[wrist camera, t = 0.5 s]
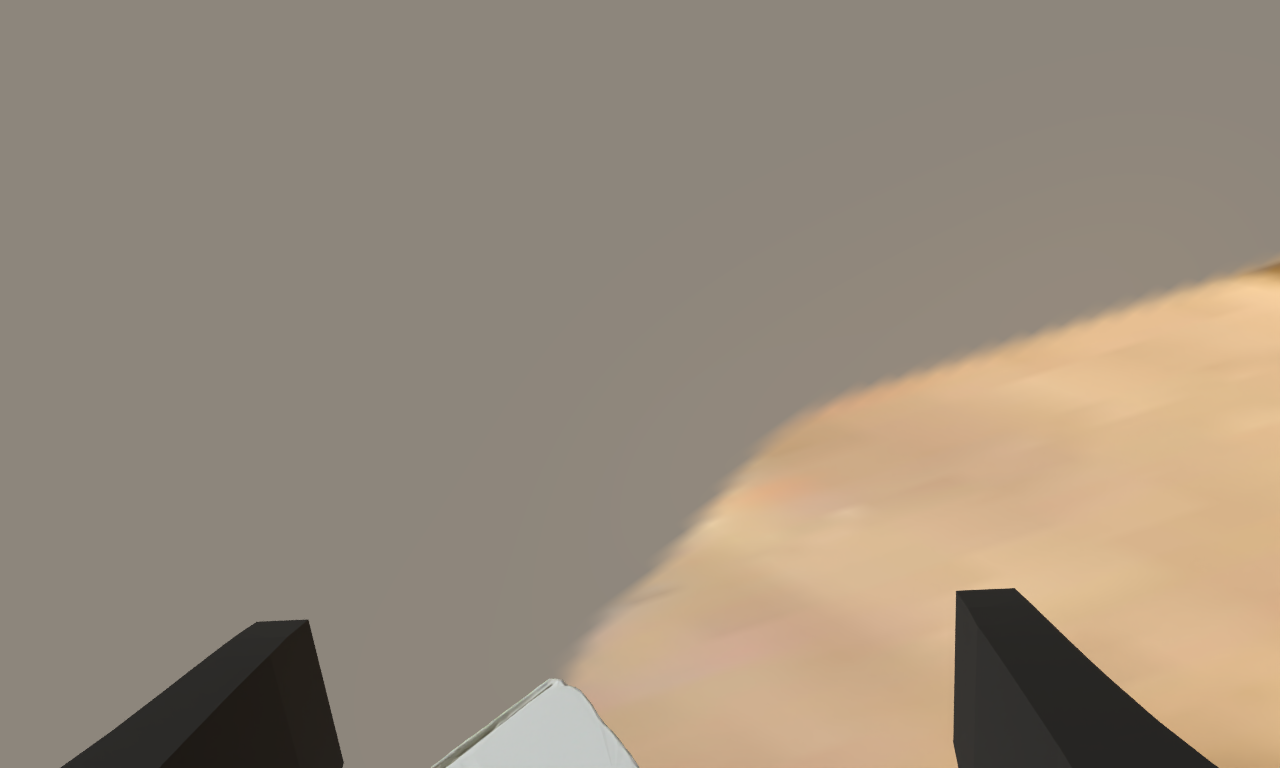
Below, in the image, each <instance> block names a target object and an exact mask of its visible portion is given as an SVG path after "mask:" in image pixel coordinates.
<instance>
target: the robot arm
mask: <svg viewBox="0 0 1280 768" xmlns="http://www.w3.org/2000/svg"><path fill="white" fill-rule="evenodd" d="M953 743H954V748H955V753H956V758H957V763H958V768H1218V767H1217V766H1215V765H1214V764H1213V763H1211V762H1210V761H1209V760H1208V759H1206V758H1205V757H1204V756H1202V755H1201V754H1200V753H1199V752H1197V751H1196V750H1195V749H1193V748H1192V747H1191V746H1190V745H1188V744H1187V743H1186V742H1185V741H1183V740H1182V739H1181V738H1179V737H1178V736H1177V735H1176V734H1174V733H1173V732H1172V731H1170V730H1169V729H1168V728H1167V727H1165V726H1164V725H1163V724H1162V723H1160V722H1159V721H1158V720H1157V719H1156V718H1154V717H1153V716H1152V715H1151V714H1150V713H1148V712H1147V711H1146V710H1145V709H1144V708H1143V707H1142V706H1141V705H1139V704H1138V703H1137V702H1136V701H1135V700H1134V699H1133V698H1131V697H1130V696H1129V695H1128V694H1127V693H1126V692H1125V691H1123V690H1122V689H1121V688H1120V687H1119V686H1118V685H1117V684H1115V683H1114V682H1113V681H1112V680H1111V679H1110V678H1109V677H1108V676H1106V675H1105V674H1104V673H1103V672H1102V671H1101V670H1100V669H1099V668H1098V667H1097V666H1096V665H1095V664H1093V663H1092V662H1091V661H1090V660H1089V659H1088V658H1087V657H1086V656H1085V655H1084V654H1083V653H1082V652H1081V651H1080V650H1079V649H1078V648H1076V647H1075V646H1074V645H1073V644H1072V643H1071V642H1070V641H1069V640H1068V639H1067V638H1066V637H1065V636H1064V635H1063V634H1062V633H1061V632H1060V631H1059V630H1058V629H1057V628H1056V627H1055V626H1054V625H1053V624H1052V623H1050V622H1049V621H1048V620H1047V619H1046V618H1045V617H1044V616H1043V615H1042V614H1041V613H1040V612H1039V611H1038V610H1037V609H1036V608H1035V607H1034V606H1033V605H1032V604H1031V603H1030V602H1029V601H1028V600H1027V599H1026V598H1024V597H1023V596H1022V595H1021V594H1020V593H1019V592H1018V591H1017V590H1016V589H1015V588H1010V589H988V590H965V591H956V629H955V684H954V738H953ZM343 763H344V762H343V758H342V754H341V750H340V746H339V742H338V738H337V734H336V730H335V726H334V722H333V718H332V714H331V710H330V705H329V702H328V697H327V693H326V689H325V685H324V681H323V677H322V673H321V669H320V665H319V661H318V657H317V653H316V649H315V645H314V641H313V637H312V633H311V629H310V625H309V621H308V620H291V621H290V620H289V621H269V622H268V621H267V622H256V623H254V624H253V625H251V626H250V627H248V628H247V629H245V630H244V631H242V632H241V633H239V634H238V635H237V636H235V637H234V638H233V639H231V640H230V641H228V642H227V643H226V644H224V645H223V646H222V647H220V648H219V649H218V650H217V651H215V652H214V653H212V654H211V655H210V656H208V657H207V658H206V659H205V660H204V661H202V662H201V663H200V664H198V665H197V666H196V667H194V668H193V669H192V670H190V671H189V672H188V673H187V674H185V675H184V676H183V677H181V678H180V679H179V680H178V681H176V682H175V683H174V684H173V685H171V686H170V687H169V688H167V689H166V690H165V691H163V692H162V693H161V694H160V695H158V696H157V697H156V698H154V699H153V700H152V701H150V702H149V703H148V704H147V705H145V706H144V707H143V708H141V709H140V710H139V711H137V712H136V713H135V714H133V715H132V716H131V717H130V718H128V719H127V720H126V721H124V722H123V723H122V724H120V725H119V726H118V727H117V728H115V729H114V730H112V731H111V732H110V733H108V734H107V735H106V736H104V737H103V738H101V739H100V740H99V741H97V742H96V743H95V744H93V745H92V746H90V747H89V748H87V749H86V750H85V751H83V752H82V753H80V754H79V755H78V756H76V757H75V758H74V759H72V760H71V761H69V762H68V763H66V764H65V765H64V766H62V767H61V768H342V767H343Z"/></svg>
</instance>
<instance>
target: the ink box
mask: <svg viewBox="0 0 1280 768" xmlns="http://www.w3.org/2000/svg"><path fill="white" fill-rule="evenodd" d="M431 768H639V766H638V765H637V763H636V761H635V760H634V758H633V757H632V755H631V754H630V753H629V752H628V750H627V749H626V748H625V747H624V745H623V744H622V742H621V741H620V740H619V738H618V737H617V736H616V735H615V734H614V733H613V731H611V730H610V729H609V728H608V727H607V725H606V724H605V723H604V722H603V721H602V719H601V718H600V717H599V715H598V713H597V712H596V710H595V709H594V707H593V705H592V704H591V702H590V701H589V700H588V699H587V697H586V696H585V695H584V694H583V693H582V692H581V691H580V690H579V689H577V688H576V687H572V686H568V685H567V684H566V683H565V682H564V681H563V680H561V679H554V678H552V679H548V680H547V681H546V682H544V683H543V684H541V685H540V686H539V687H537V688H536V689H534V690H533V691H532V692H531V693H530V694H528V695H527V696H526V697H524V698H523V699H522V700H520V701H519V702H517V703H516V704H515V705H513V706H512V707H510V708H509V709H508V710H507V711H505V712H504V713H502V714H501V715H500V716H499V717H497V718H496V719H495V720H493V721H492V722H491V723H490V724H488V725H487V726H486V727H484V728H483V729H481V730H480V731H479V732H477V733H476V734H475V735H473V736H472V737H470V738H469V739H467V740H466V741H465V742H464V743H462V744H461V745H460V746H458V747H457V748H455V749H454V750H453V751H451V752H450V753H449V754H448V755H447V756H445V757H444V758H443V759H442V760H440V761H439V762H437V763H436V764H435V765H433V766H432V767H431Z"/></svg>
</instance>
